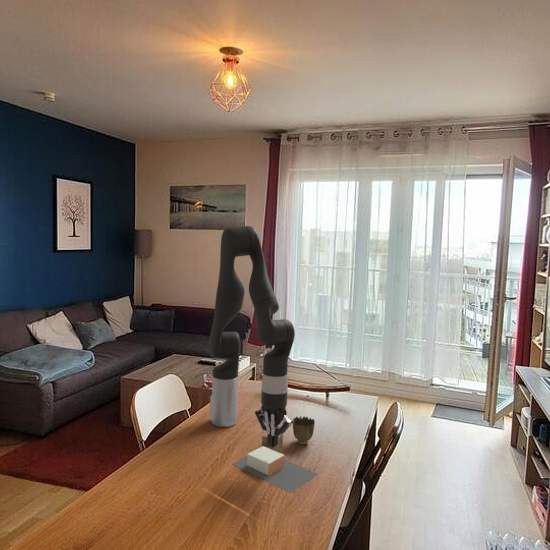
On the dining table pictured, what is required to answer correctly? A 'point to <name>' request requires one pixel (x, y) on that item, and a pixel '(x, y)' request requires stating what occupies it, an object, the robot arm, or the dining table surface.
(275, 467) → the cream block
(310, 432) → the filigree lamp shade
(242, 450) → the dining table surface
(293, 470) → the mat
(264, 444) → the walnut cube
